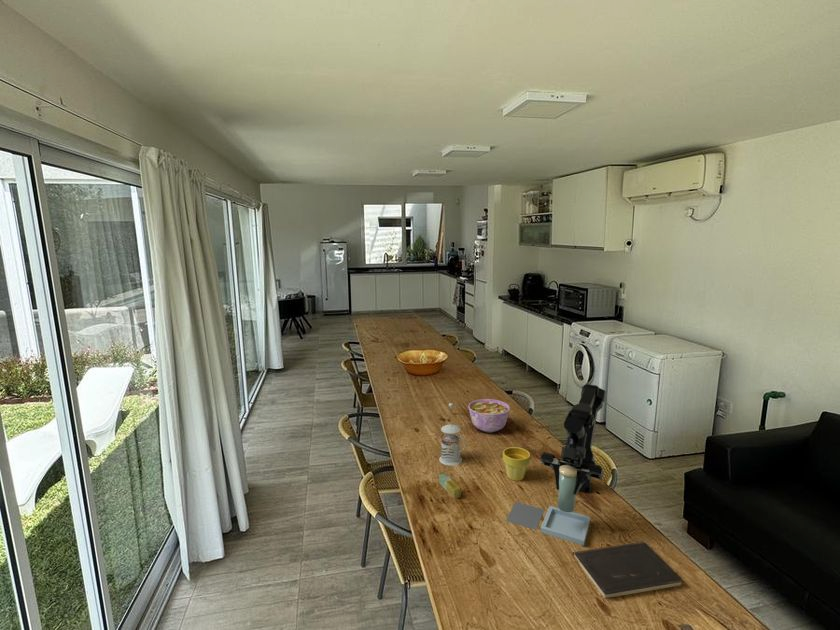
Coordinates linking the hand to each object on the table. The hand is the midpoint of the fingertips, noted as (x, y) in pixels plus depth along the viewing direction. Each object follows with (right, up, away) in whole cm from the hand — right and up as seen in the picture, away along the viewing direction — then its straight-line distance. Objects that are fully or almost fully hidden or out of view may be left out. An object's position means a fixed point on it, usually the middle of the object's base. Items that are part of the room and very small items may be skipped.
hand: (566, 492), depth 137 cm
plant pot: (-8, -8, +34) cm, 36 cm away
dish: (+1, -13, +3) cm, 13 cm away
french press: (-32, -6, +47) cm, 57 cm away
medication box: (-35, -10, +25) cm, 44 cm away
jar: (+1, -6, +2) cm, 6 cm away
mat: (-10, -12, +9) cm, 18 cm away
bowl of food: (-12, 0, +77) cm, 78 cm away
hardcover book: (+12, -17, -15) cm, 25 cm away
